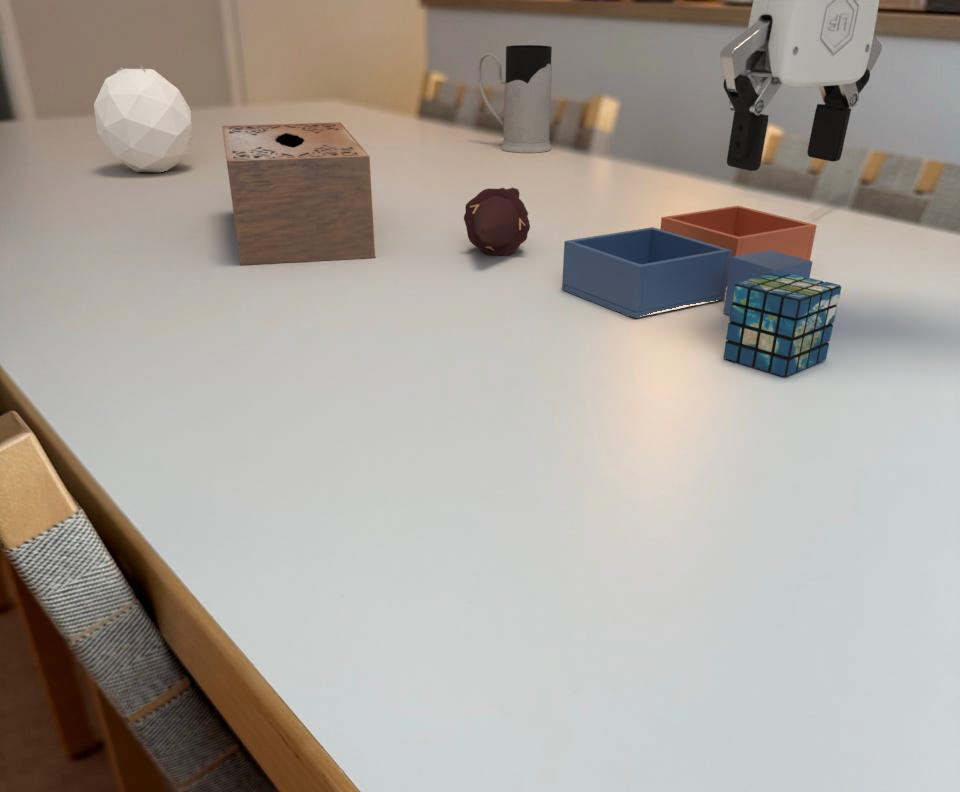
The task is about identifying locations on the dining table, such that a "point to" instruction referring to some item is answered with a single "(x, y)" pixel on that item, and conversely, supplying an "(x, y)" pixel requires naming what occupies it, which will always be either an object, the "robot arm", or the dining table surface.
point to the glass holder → (524, 98)
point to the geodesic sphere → (143, 120)
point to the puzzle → (781, 322)
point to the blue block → (762, 269)
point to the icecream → (497, 221)
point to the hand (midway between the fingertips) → (783, 163)
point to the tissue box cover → (299, 193)
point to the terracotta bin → (744, 231)
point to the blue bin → (645, 270)
